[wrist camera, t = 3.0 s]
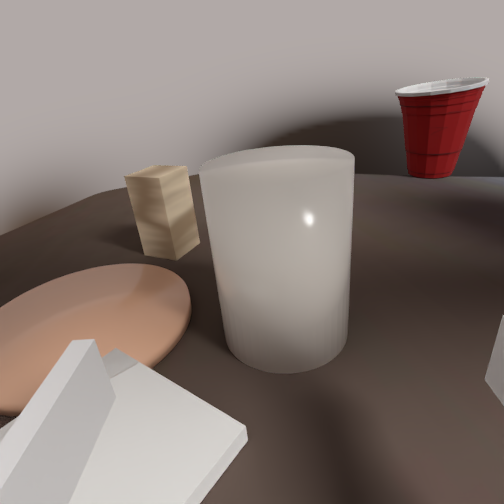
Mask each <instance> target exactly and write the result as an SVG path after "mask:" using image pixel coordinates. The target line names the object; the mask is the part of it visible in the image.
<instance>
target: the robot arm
mask: <svg viewBox="0 0 504 504" xmlns="http://www.w3.org/2000/svg"><path fill="white" fill-rule="evenodd" d="M485 381H486V382H487V384H488V385H489V386H490V388H491V389H492V391H493V392H494V393H495V395H496V396H497V397H498V399H499V400H500V401H501V403H502V404H503V406H504V315H503V316H502V320H501V323H500V327H499V330H498V334H497V337H496V341H495V344H494V348H493V351H492V355H491V358H490V362H489V365H488V369H487V373H486V376H485ZM115 399H116V395H115V393H114V390H113V387H112V385H111V382H110V379H109V377H108V374H107V371H106V369H105V366H104V363H103V360H102V358H101V355H100V352H99V350H98V347H97V344H96V342H95V339H84V340H72V341H71V343H70V344H69V346H68V347H67V348H66V350H65V351H64V353H63V354H62V355H61V357H60V358H59V360H58V361H57V363H56V364H55V365H54V367H53V368H52V370H51V371H50V373H49V374H48V375H47V377H46V378H45V380H44V381H43V383H42V384H41V385H40V387H39V388H38V390H37V391H36V392H35V394H34V395H33V397H32V398H31V400H30V401H29V402H28V404H27V405H26V407H25V408H24V410H23V411H22V412H21V414H20V415H19V417H18V418H17V419H16V421H15V422H14V424H13V425H12V427H11V428H10V429H9V431H8V432H7V434H6V435H5V437H4V438H3V439H2V441H1V442H0V504H69V502H70V500H71V498H72V495H73V493H74V491H75V489H76V486H77V484H78V482H79V480H80V477H81V475H82V473H83V471H84V468H85V466H86V464H87V462H88V459H89V457H90V455H91V453H92V450H93V448H94V446H95V444H96V441H97V439H98V437H99V435H100V432H101V430H102V428H103V426H104V423H105V421H106V419H107V417H108V414H109V412H110V410H111V408H112V405H113V403H114V401H115Z"/></svg>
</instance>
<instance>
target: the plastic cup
mask: <svg viewBox="0 0 504 504" xmlns="http://www.w3.org/2000/svg"><path fill="white" fill-rule="evenodd" d="M488 83H489V79H488V78H481V77H474V78H459V79H449V80H442V81H435V82H429V83H423V84H418V85H413V86H408V87H404V88H401V89H398V90H396V91H395V94H396V95H397V96H398V98H399V101H400V105H401V109H402V113H403V124H404V137H405V149H406V153H407V169H408V173H409V174H410V175H412V176H415V177H421V178H443V177H447V176H449V175H451V174H452V171H453V170H454V168H455V165H456V162H457V159H458V156H459V153H460V151H461V150H462V147H463V144H464V141H465V138H466V135H467V132H468V129H469V127H470V123H471V121H472V118H473V115H474V112H475V109H476V107H477V105H478V102H479V99H480V98H481V95H482V91H483V90H484V88H485V85H487V84H488Z"/></svg>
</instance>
